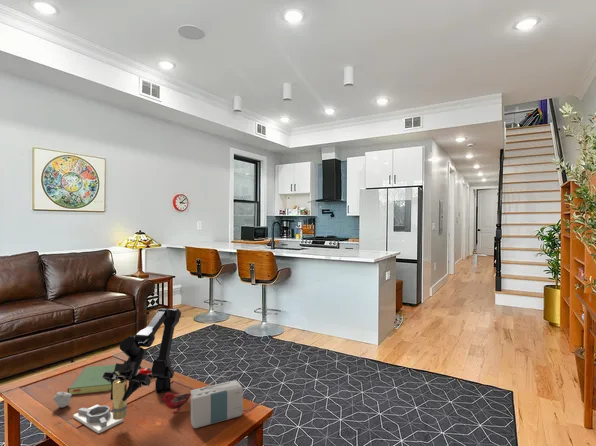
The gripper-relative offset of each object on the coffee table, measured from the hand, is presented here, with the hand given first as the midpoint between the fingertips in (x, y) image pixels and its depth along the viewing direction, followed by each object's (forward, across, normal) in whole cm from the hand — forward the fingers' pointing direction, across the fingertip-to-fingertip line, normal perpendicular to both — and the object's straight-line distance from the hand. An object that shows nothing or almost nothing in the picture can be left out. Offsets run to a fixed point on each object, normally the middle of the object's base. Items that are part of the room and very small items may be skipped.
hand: (117, 400), depth 140 cm
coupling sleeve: (+4, 0, +6) cm, 7 cm away
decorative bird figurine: (-4, +17, +22) cm, 28 cm away
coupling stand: (+5, -13, +13) cm, 19 cm away
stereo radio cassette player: (-1, +36, +19) cm, 40 cm away
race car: (-23, -18, +42) cm, 51 cm away
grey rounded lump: (0, -36, +17) cm, 40 cm away
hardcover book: (-16, -38, +35) cm, 54 cm away
